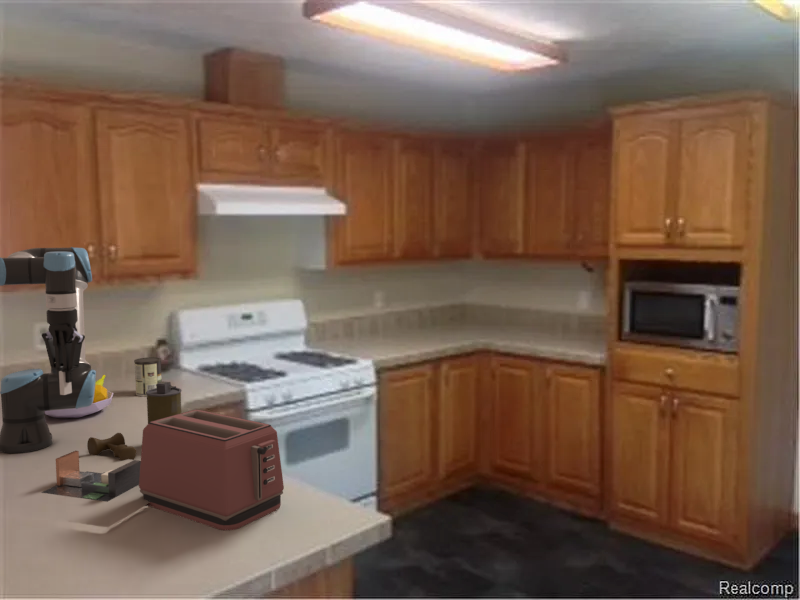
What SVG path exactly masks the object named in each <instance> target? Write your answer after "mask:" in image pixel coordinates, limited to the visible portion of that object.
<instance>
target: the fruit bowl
mask: <svg viewBox="0 0 800 600" xmlns="http://www.w3.org/2000/svg"><path fill="white" fill-rule="evenodd" d="M106 377H107V376H106V374H103V375H102V376H101V378H99V379H98V380H96V381H95V392H94V399H93V403H92V404H91V405H90V406H88V407H82V408H78V409H76V408H72V409H61V410H50V411H45V416H48V417H52V418H58V419H59V418H65V419H67V418H69V419H70V418H71V419H74V418H75V419H80V418H83V417H85V416H88V415H91V414H94V413H97V412H99V411H101V410H103V409H105V408H106V407H108V406H110V405H111V403H112V400H113V396H114V392H111V391H109V390H108V389H107V388H106V387H104V382H105V378H106Z"/></svg>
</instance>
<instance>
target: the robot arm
mask: <svg viewBox="0 0 800 600" xmlns="http://www.w3.org/2000/svg"><path fill="white" fill-rule="evenodd" d="M88 253H89V252H88V250H86V249H85V248H84V247H73V246H70V247H33V248H32V247H31V248H28V249H27V248H26V249H23V250H19V251H15V252H13V253H11V254H9V255H8V256H7V257H0V286H1V287H2V286H17V285H19V286H20V285H45V287H44V288H45V304H46V309H47V310H46V322H47V325H49V326H48V330H47V331H46V332H43V333H41V337H42V339H43V341H44V344H45V348H46V352H47V357H48V361H49V366H50V372H48V373H45V372H44V370H42V369H41V368H29V369H23V370H18V371H15V372H11V373H9V374H6V375H5V376H3V377H2V378H1V380H0V399H1V418H2V425H1V429H0V452H2V453H6V454H8V453H9V454H18V453H19V454H21V453H28V452H29V453H30V452H34V451H38V450H41V449H44V448H47V447H49V446H51V445H53V442H54V441H53V434H52V432H50V428H49V426H48V422H47V420H46V414H45V411H50V410H61V409H72V408H76V409H78V408H82V407H88V406H90V405H91V404H92V403H93V399H94V392H95V382H96V381H97V379H96V377H97V371H96V370H95V369H92V364H90V363H89V361H87V360H86V357H87V356H86V341H85V340H86V335H85V333H86V331H85V311H84V310H85V309H84V291H85V290H87V289H88V287H89V286H88V285H89V283H91V282H93V274H92V269H91V263H90V259H89V258H90V257H89V254H88Z"/></svg>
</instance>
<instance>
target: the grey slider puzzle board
mask: <svg viewBox="0 0 800 600" xmlns="http://www.w3.org/2000/svg"><path fill="white" fill-rule="evenodd" d="M140 464H141V460H137V459H134V460H131V461H129V462H128V463H125V464H124V465H121V466H119V467H116V468H115V469H113V471H111V472H109V473H108V484H105V483H102V481H101V474H103V473H106V472H107V471H105V472H94V471H85V472H89V473H94V481H92V482H83V483H81V487H78V486H70V485H60V486H59V485H57V484H56V485H54V486H52V487H50V488H47V489H46V490H43V491H41V493H42V494H49V495H57V496H64V497H71V498H78V499H85V500H93V501H97V502H98V501H99V502H100V501H101V502H106V503H108V502H109V501H112V500H113V499H115V498H117V497H118V496H121V495H123V494H124V493H127V492H128V491H130V490H131V489H134V488H135V487H139V478H140Z"/></svg>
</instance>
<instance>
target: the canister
mask: <svg viewBox="0 0 800 600" xmlns="http://www.w3.org/2000/svg"><path fill="white" fill-rule="evenodd" d="M156 386H157V388H155V389H151V390H148V391H147V392H146V394H147V396H146V403H147V404H146V408H147V409H146V410H147V425H148V424H149V422H151V421H155V420H159V419H162V418H166V417H170V416H173V415H177V414H181V413H182V391H183V390H182V388H179V387H177V386H176V385H175V386H174V385H172V382H171V381H161V382H159V383H158V384H156Z"/></svg>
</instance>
